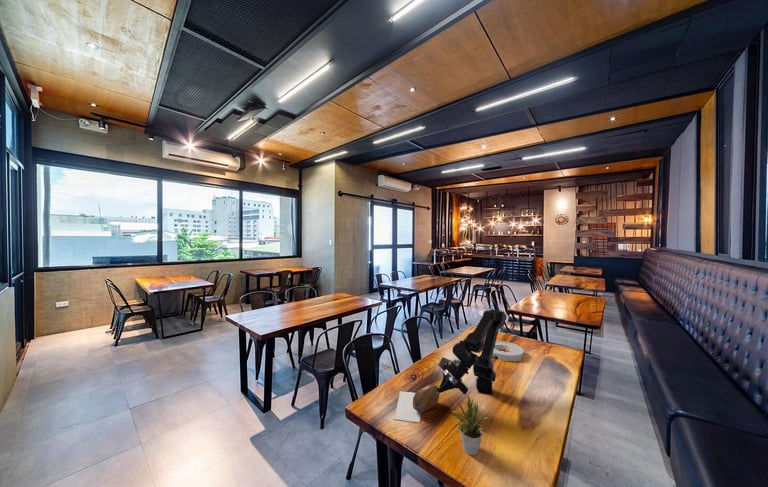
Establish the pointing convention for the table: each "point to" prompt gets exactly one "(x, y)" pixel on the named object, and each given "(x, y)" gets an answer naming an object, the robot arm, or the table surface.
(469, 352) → the robot arm
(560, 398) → the table surface
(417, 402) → the tin
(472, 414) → the house plant
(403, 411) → the mat
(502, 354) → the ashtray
